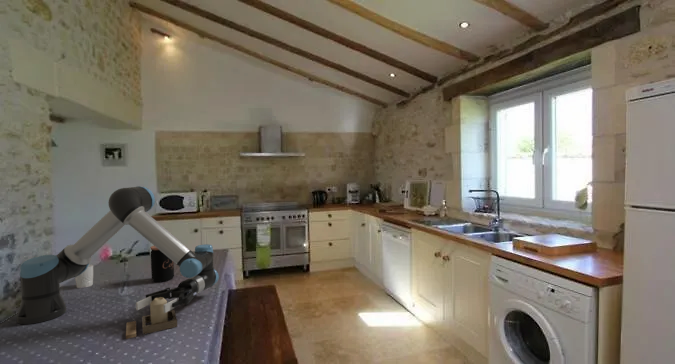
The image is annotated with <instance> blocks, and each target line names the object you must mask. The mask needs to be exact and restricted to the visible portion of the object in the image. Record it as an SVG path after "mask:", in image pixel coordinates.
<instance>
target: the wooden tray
mask: <svg viewBox="0 0 675 364" xmlns="http://www.w3.org/2000/svg"><path fill="white" fill-rule="evenodd" d="M167 315H168V319H169V320H168V321H165V322H161V323H156V324H152V325H151V324H149V323H151V314H148V315H147V314H146V315H143V316H141V323H142V326H141V327H142V335H143V334H144V335H148V334H153V333H155V332H160V331H164V330H169V329H173V328H177V327H178V319H177V314H176V311H175V309H171V310H170V311H168V312H167ZM170 319H171V320H170ZM146 324H148V325H146ZM147 333H148V334H147Z"/></svg>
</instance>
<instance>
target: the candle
mask: <svg viewBox="0 0 675 364" xmlns="http://www.w3.org/2000/svg"><path fill="white" fill-rule="evenodd" d="M167 303H168V301H167V299H164V298H163V297H159V298H155V299H154V300H153V301H152V302H151V303H150V305H149V308H150V309H149V310H150V315H151V322H150V325H152V324H156V323H161V322H165V321H169V318H168V315H167V312H166V313H164V307H163V305H165V304H167Z"/></svg>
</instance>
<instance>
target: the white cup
mask: <svg viewBox="0 0 675 364" xmlns="http://www.w3.org/2000/svg"><path fill="white" fill-rule="evenodd" d="M74 280H75V284H76V288H77V289H83V288H89V287H92V286H93V285H94V264H89V265H88V267H87V269H86V270H85V271H84V272H83V273H82V274H80V275H79V276H77V277H74Z"/></svg>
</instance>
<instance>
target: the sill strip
mask: <svg viewBox="0 0 675 364" xmlns="http://www.w3.org/2000/svg"><path fill="white" fill-rule="evenodd" d="M125 327H126V329H125V339H126V340H128V339H132V338H133V339H134V338H136V337H137V321H136V320H133V321H128V322H126V325H125Z"/></svg>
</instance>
